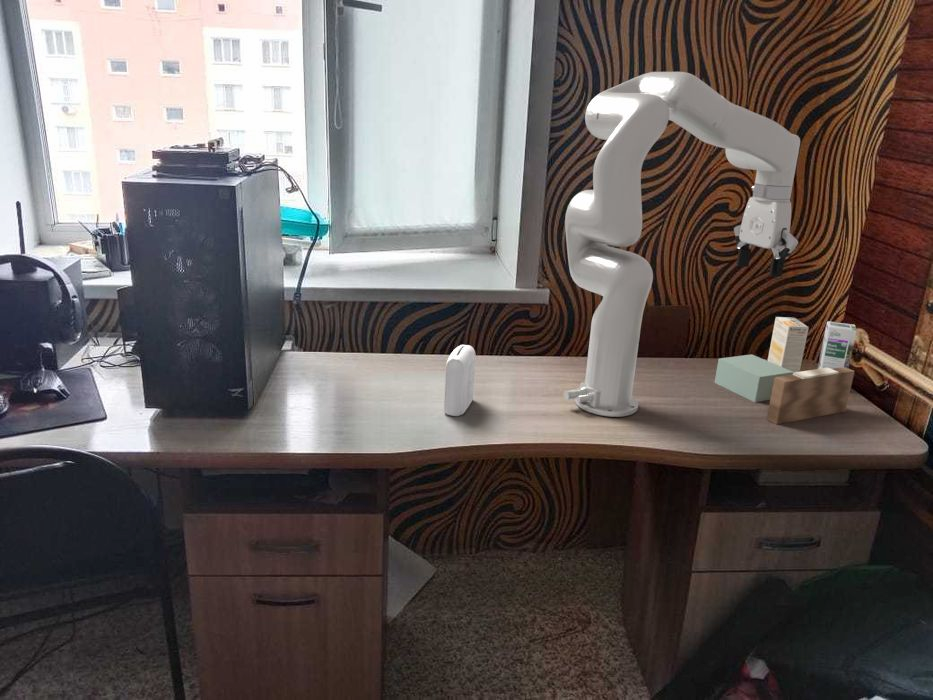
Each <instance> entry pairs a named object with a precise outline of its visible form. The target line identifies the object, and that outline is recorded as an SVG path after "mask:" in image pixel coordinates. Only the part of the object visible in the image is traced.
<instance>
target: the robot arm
mask: <svg viewBox="0 0 933 700" xmlns="http://www.w3.org/2000/svg"><path fill="white" fill-rule="evenodd" d="M584 114H585V116H584V120H585V126H586V128H587V130H588V132H589V133H590V135H592V136H594V137H595V138H597V139H600V140H605V142H604V144H603V146H602V147H601V149H600V150H599V152H598V154H597V156H596V159H595V161H594V164H593V170H592V172H593V173H592V180H593V181H592V185H593V189H585V190H582V191H579V192H578V193H577V194H575V195H574V196H573V197H572V199H571V200H570V202H569V204H568V205H567V209H566V212H565V216H564V217H565V219H564V228H565V229H564V230H565V239H566V241H565V242H566V250H567V260H568V269H569V273H570V277H571V278H572V281H573V282H574V283H575V284H576V285H577V286H578V287H580V288H581V289H583V290H586V291H587V292H591V293H594V294H596V295H599V296H602V300H601V301H600V303H599V305H598V306H597V307H596V309H595V311H594V313H593V315H592V319H591V322H590V323H591V324H590V333H589V342H588V343H589V345H588V352H587V362H586V371H585V379H584V381H582V382H579V383H580V385H579V386H578V387H577V388H576V389H567V390H564V391H563V395H562V396H563V398H564V400H565V401H569V400H575V402H574V403H575V404H576V405H577V406H578V407H579V408H580V409H582V410H583V411H586V412H588V413H590V414H594V415H597V416H602V417H603V416H604V417H610V418H611V417H613V418H615V417H617V418H622V417H628V416H631V415H633V414H635V413H637V411H638V409H639V401H638V400H637V399H636V398H635V397H633V388H634V387H633V386H634V379H635V373H636V365H637V358H638V351H639V342H640V335H641V328H642V321H643V315H644V310H645V306H646V303H647V300H648V297H649V293H650V291H651V288H652V284H653V280H654V273H653V272H654V271H653V269H652V265H651V264H650V263H649V262H648V260H646V259H645V258H644V257H643V256H641V255H639V254H637V253H634V252H632V251H628V250H624V249H621V248H627V247H630V246H632V245H635V243H637V242H638V240H639V239H640V237H641V235H642V230H643V229H642V228H643V209H642V208H643V204H642V201H643V200H642V186H641V185H642V183H641V182H642V180H641V179H642V168H643V164H644V162H645V159H646V157H647V155H648V153H649V152H650V150H651V149H652V147H653V146H654V144H656V142H657V141H658V139H659V138H660V137H661V136H662V135H663V133H664V132H665V130H666V129H667V126H668V124H669V121H671V122H673V123H675V124H676V125H678V127H680V128H683V130H685V131H686V132H688V133H690V134H691V135H693V136H694V137H696V138H697V139H698V140H700V141H701V142H703V143H706V144H709V145H711V146H714V147H717V148H723V149H725V156H726V160H727V161H728V163H729V164H731V165H733V166H734V167H737V168H738V169H745V170H753V171H755V170H756V174H755V178H754V179H755V181H754V185H753V186H752V187H751V189H752V191H753V192H752V196H751V197H749V199H748V201H747V203H746V207H745V209H744V213H743V215H742V220H741V224H739V225H736V226H735V227H733V231H734V236H735V237H734V240H735V242H736V248H737V249H738V254H737V258H736V265H735V266H736V267H737V268H746V267H749V265H750V260H751V255H752V248H751V246H755V247H759V248H763V249H771V252H772V253H773V258H772V259H771V262H770V267H769V273H768V276H769V277H770V278H779V277H782V275H783V272H784V266H785V261H786V259H788V258H789V256H791V254H793V253H794V250H795V249H796V248H797V245H798V244H799V240H798V239H797V238H796V237H795V236H794V235H793V234H792V233H791V232H790V231H791V224H792V222H791V221H792V201H790V200H791V196H792V190H793V185H794V178H795V174H796V168H797V163H798V157H799V152H800V147H801V138H800V137H799V135H797V134H794V133H791V132H790V131H789V130H788V129H787V128H785V127H784V126H783V125H781V124H780V123H778V122H776V121H775V120H773V119H771V118H768V117H766V116H764V115H762V114H759V113H756V112H754V111H751V110H749V109H748V108H745V107H743V106H740V105H737V104H734V103H733V102H731V101H729V100H727V98H725V97H724V96H723V95H721V94H719V92H717V91H716V90H715V89H713V88H712V87H711V86H709V85H708V84H707V83H706V82H704V81H703V80H701V78H699V77H697V76H696V75H694V74H692V73H689V72H686V71H650V72H647V73H643V74H641V75H638V76H636V77H633V78H630V79H629V80H627V81H624V82H622V83H620V84H617V85H615V86H613V87H610V88H608V89H606V90H604V91H601V92H600V93H598V94H597V95H595V96H594V97H593V98H592V99H591V100H590V102H589V103H588V105H587V107H586V109H585V113H584Z"/></svg>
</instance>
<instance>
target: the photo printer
mask: <svg viewBox="0 0 933 700" xmlns="http://www.w3.org/2000/svg"><path fill="white" fill-rule="evenodd" d="M476 356H477V355H476V350H475V349H474V347H473V346H472V345H469V344H460V345H458V346H457V347H456V348H454V349H453V351H452V352H451V353H450V355H449V356H448V358H447V360H446V363H445V364H446V365H445V376H444V377H445V379H444V382H445V383H444V396H443V397H444V399H443V401H444V402H443V411H444V413H445V415H448V416H452V417H459V416H462V415H463V414H464V413H465V412H466V411H467V409H468V408H469V407H470V405H471V403H473V399H474V387H475V373H476V372H475V369H476V368H475V367H476Z"/></svg>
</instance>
